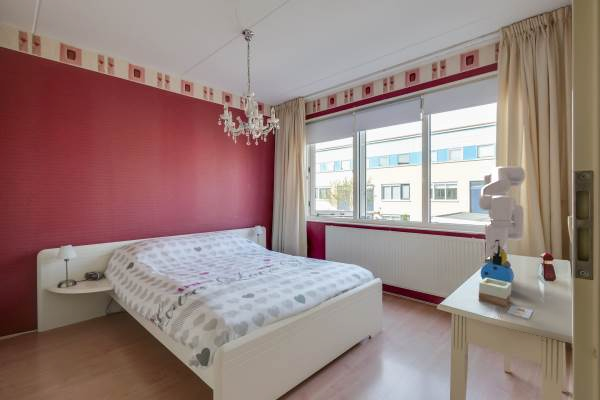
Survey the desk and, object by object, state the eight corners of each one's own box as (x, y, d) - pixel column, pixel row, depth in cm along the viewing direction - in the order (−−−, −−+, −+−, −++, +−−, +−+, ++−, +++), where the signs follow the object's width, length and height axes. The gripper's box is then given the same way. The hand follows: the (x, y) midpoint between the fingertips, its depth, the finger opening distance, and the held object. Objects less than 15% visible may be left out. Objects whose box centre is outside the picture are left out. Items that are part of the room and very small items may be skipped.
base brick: (484, 294, 134) (485, 286, 133) (510, 301, 126) (511, 292, 126) (478, 300, 127) (478, 292, 127) (505, 308, 119) (505, 298, 119)
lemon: (508, 268, 122) (509, 249, 121) (493, 266, 124) (494, 248, 123) (504, 264, 127) (504, 247, 127) (489, 263, 129) (490, 246, 128)
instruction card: (512, 305, 122) (512, 305, 122) (532, 311, 117) (532, 310, 117) (506, 312, 115) (506, 312, 115) (528, 318, 110) (528, 318, 110)
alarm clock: (513, 289, 140) (514, 260, 140) (509, 292, 137) (511, 262, 136) (484, 282, 151) (485, 255, 150) (479, 284, 147) (480, 256, 146)
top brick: (485, 286, 133) (485, 277, 133) (511, 292, 126) (511, 283, 126) (478, 292, 127) (479, 282, 126) (505, 298, 119) (506, 288, 119)
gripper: (495, 221, 133) (493, 258, 134) (485, 224, 121) (483, 265, 122) (514, 222, 127) (512, 261, 129) (506, 226, 116) (504, 269, 117)
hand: (498, 263), depth 125 cm, fingers closed on lemon, 5 cm apart
